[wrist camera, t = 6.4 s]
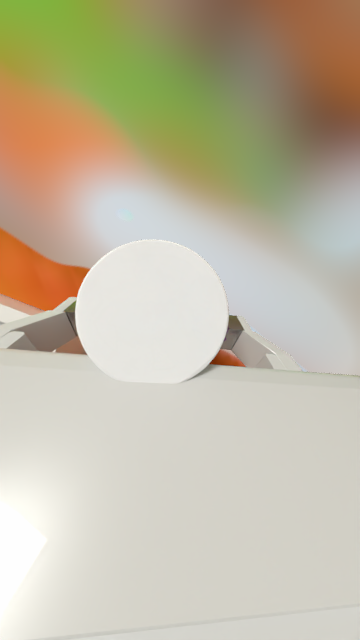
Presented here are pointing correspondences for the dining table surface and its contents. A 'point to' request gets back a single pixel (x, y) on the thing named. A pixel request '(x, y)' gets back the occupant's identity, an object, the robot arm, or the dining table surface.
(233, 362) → the dining table surface
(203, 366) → the supplement bottle
